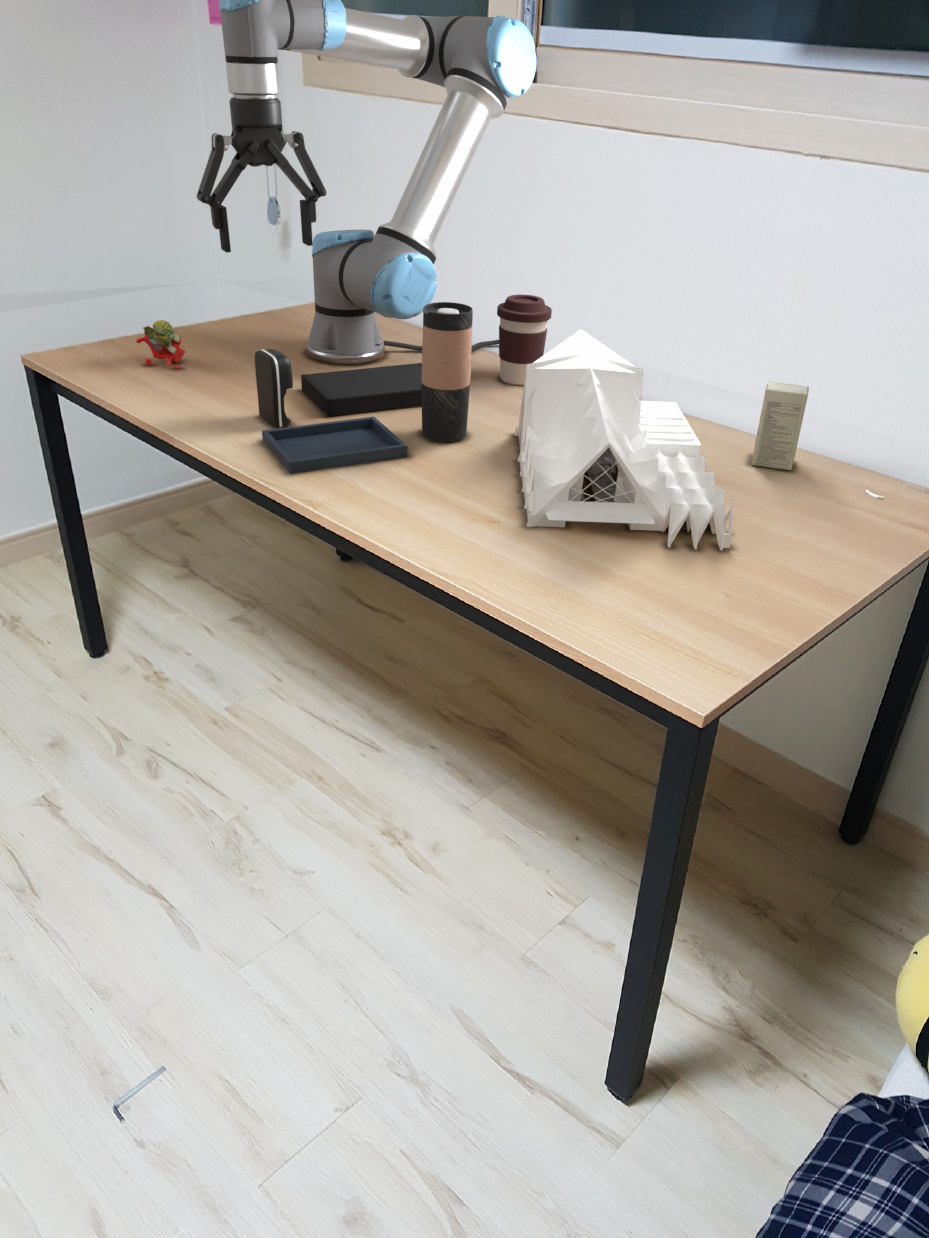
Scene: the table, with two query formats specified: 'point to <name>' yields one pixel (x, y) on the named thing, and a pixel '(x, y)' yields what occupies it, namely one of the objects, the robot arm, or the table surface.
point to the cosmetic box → (780, 425)
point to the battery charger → (273, 385)
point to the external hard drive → (364, 389)
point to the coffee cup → (521, 335)
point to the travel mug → (446, 370)
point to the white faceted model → (638, 440)
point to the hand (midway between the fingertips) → (267, 247)
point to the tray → (333, 444)
